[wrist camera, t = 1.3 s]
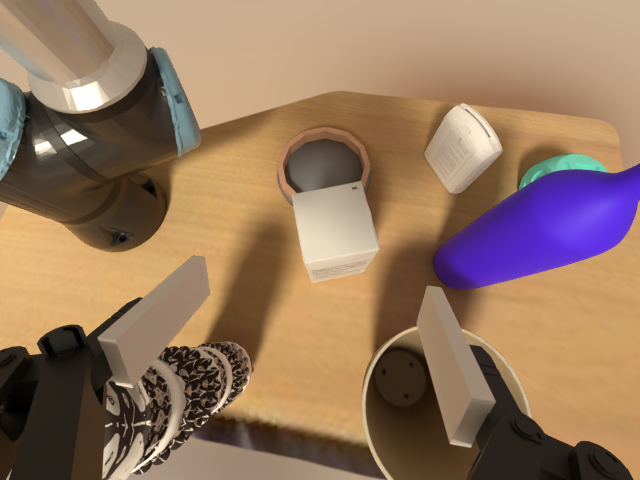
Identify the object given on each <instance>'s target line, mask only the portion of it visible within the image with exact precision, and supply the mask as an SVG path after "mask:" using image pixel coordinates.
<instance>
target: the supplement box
mask: <svg viewBox="0 0 640 480" xmlns="http://www.w3.org/2000/svg"><path fill="white" fill-rule="evenodd" d="M292 201H293V207H294V213H295V219H296V225H297V230H298V235H299V241H300V246H301V251H302V255H303V260H304V264H305V266H306V269H307V271H308V274H309V276H310V279H311V281H312V283H317V282H321V281H326V280H331V279H336V278H341V277H346V276H350V275H355V274H360V273H363V272H364V271H365V269H366V268H367V266H368V265H369V263H370V262H371V261H372V259H373V258H374V256H375V255H376V253H377V252H378V251H379V249H380V246H379V242H378V239H377V235H376V231H375V228H374V224H373V221H372V216H371V212H370V209H369V206H368V203H367V199H366V196H365V192H364V188H363V185H362V182H361V181H358V182H354V183H349V184H344V185H339V186H334V187H329V188H324V189H318V190H313V191H307V192H302V193H297V194H293V195H292Z"/></svg>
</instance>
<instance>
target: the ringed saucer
mask: <svg viewBox="0 0 640 480" xmlns="http://www.w3.org/2000/svg"><path fill="white" fill-rule="evenodd" d="M277 168H278V172H277V177H278V183H279V187H280V189H281V192H282V194H283V195H284V197H285V198H286V200H287V201H288V202H289V203H290V204H291V205H292V206H293V201H292V195H293V194H297V193H302V192H307V191H313V190H318V189H324V188H329V187H334V186H339V185H344V184H349V183H354V182H358V181H361V182H362V185H363V188H364V192H365V193H366V191H367V188H368V185H369V181H370V174H371V172H370V168H371V165H370V162H369V159H368V155H367V152H366V149H365V147H364V145H363V144H361V143H360V142H359V141H358V140H357V139H356V138H354V137H353V136H352V135H351V134H350V133H349V132H348V133H347V132H346V131H342V130H338V129H334V128H330V127H326V129H325V127H320V128H315V129H310V130H305V131H304V132H303V131H302V132H301V133H300V134H298V135H297V136H296V137H294V138H293V139H292V140H290V141H289V142H288V143H286V145H285V146H284V148H283V150H282V153H281V155H280V157H279V160H278V162H277Z"/></svg>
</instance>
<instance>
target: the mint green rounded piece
mask: <svg viewBox="0 0 640 480" xmlns="http://www.w3.org/2000/svg"><path fill="white" fill-rule="evenodd" d="M569 169H583V170H595V171H602V172H607V173H608V171H607V170H606V168H605V167H604V166H603V165H602V164H601V163H599V162H598V161H597V160H595V159H593V158H591V157H588V156H585V155H581V154H566V155H560V156H556V157H552V158H549V159H546V160H544V161H541V162H539V163H537V164H536V165H534V166H533V167H531V168H530V169H529V170H528V171H527V172H526V174H525V175H524V176H523V178H522V180H521V183H520V186H519V190H520V189H521V188H523V187H525V186H526V185H528V184H529V183H531V182H533V181H534V180H536V179H538V178H540V177H542V176H544V175H546V174H549V173H551V172H555V171H559V170H569Z"/></svg>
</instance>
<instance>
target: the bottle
mask: <svg viewBox="0 0 640 480" xmlns="http://www.w3.org/2000/svg"><path fill="white" fill-rule="evenodd" d="M639 200H640V164H638V165H636V166H634V167H632V168H630V169H627V170H625V171H622V172H618V173H607V172H602V171H595V170H583V169H569V170H559V171H555V172H551V173H549V174H546V175H544V176H542V177H540V178H538V179H536V180H534V181H533V182H531V183H529V184H528V185H526V186H525V187H523V188H521V189H520V190H518V191H517V192H515V193H514V194H512V195H511V196H509V197H508V198H506V199H505V200H503V201H502V202H500V203H499V204H498V205H496V206H495V207H493V208H492V209H490V210H489V211H488V212H486V213H485V214H483V215H482V216H481V217H479V218H478V219H476V220H475V221H474V222H472V223H471V224H469V225H468V226H467V227H465V228H464V229H463V230H461V231H460V232H458V233H457V234H456V235H455V236H453V237H452V238H451V239H449V240H448V241H447V242H446V243H445V244H443V245H442V246H441V247H440V248H439V249H438V251H437V252H436V254H435V257H434V269H435V272H436V274H437V276H438V277H439V279H440V280H441V281H442V282H443V283H444V284H446V285H447V286H449V287H451V288H454V289H459V290H468V289H474V288H480V287H484V286H488V285H493V284H497V283H501V282H505V281H509V280H513V279H517V278H520V277H524V276H528V275H532V274H536V273H539V272H543V271H547V270H550V269H554V268H558V267H561V266H565V265H568V264H571V263H574V262H578V261H581V260H584V259H588V258H590V257H593V256H596V255H599V254H601V253H604V252H606V251H608V250H609V249H611V248H613V247H615V246H616V245H617V244H619V243H620V241H621V240H622V239H623V238H624V237H625V235H626V234H627V232H628V231H629V229H630V227H631V225H632V222H633V220H634V217H635V214H636V210H637V206H638V202H639Z"/></svg>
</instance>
